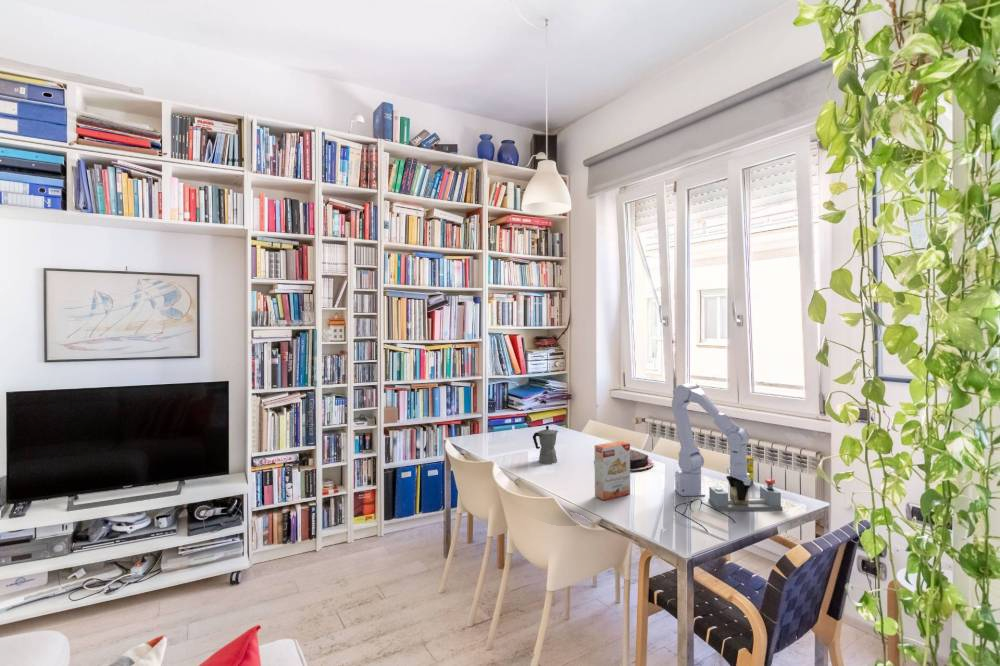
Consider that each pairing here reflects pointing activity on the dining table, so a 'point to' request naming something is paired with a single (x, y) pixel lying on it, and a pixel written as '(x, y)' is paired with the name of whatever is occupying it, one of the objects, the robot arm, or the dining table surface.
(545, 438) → the coffeepot
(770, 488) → the gauge plunger
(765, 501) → the rail bench
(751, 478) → the supplement box
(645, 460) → the chocolate cake
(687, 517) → the glasses
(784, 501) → the dining table surface
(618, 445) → the cracker box
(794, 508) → the dining table surface
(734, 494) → the carriage
